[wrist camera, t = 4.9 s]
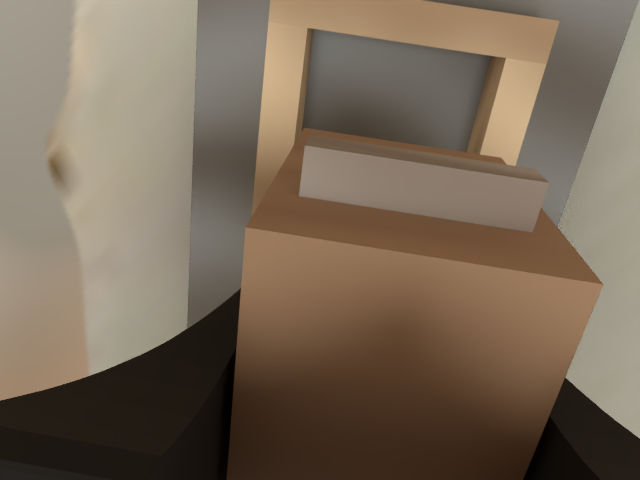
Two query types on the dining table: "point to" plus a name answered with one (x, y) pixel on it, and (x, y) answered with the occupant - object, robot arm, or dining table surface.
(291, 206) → the cabinet block
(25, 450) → the robot arm
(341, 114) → the cradle
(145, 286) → the dining table surface
